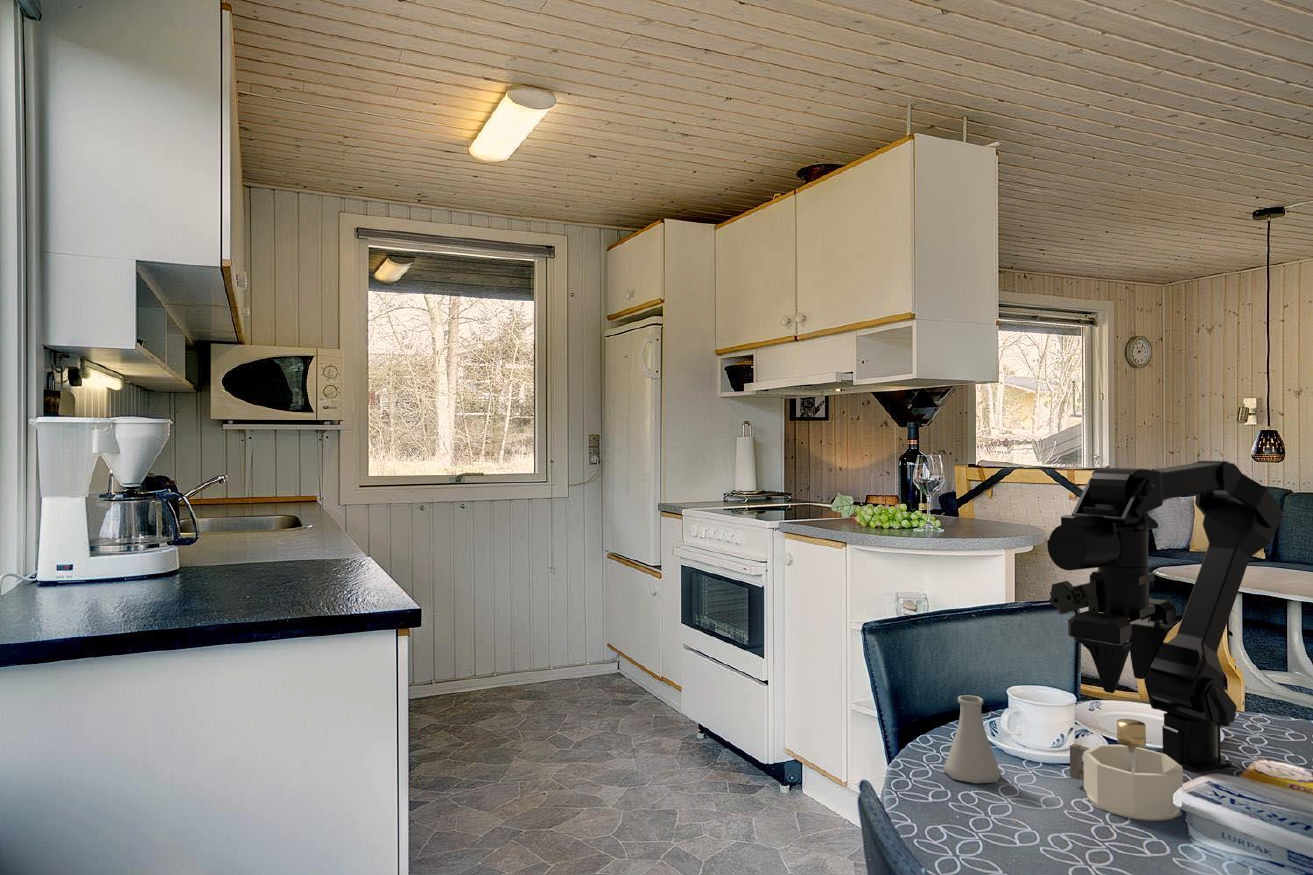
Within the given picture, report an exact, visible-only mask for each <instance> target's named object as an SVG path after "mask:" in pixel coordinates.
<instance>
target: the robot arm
mask: <svg viewBox="0 0 1313 875" xmlns="http://www.w3.org/2000/svg"><path fill="white" fill-rule="evenodd" d="M1091 475H1092V476H1091V477H1090V478H1089V479H1088V480H1087V483H1086V485H1085V487H1084V489H1083V490H1082V493H1081V495H1080V496H1079V499H1078V501H1077V503H1076V505H1075V507H1074V509H1073V511H1072V513H1071V515H1070V514H1066V515H1061V516H1060V525H1058V526H1057V527H1055V528H1054V529H1053V530H1052V532H1051V533H1050V535H1049V539H1048V540H1047V551H1048V555H1049V558H1050V559H1051V561H1052V562H1053V564H1054V565H1055V566H1057V567H1058V568H1059V569H1061V570H1065V571H1069V572H1070V571H1079V570H1086V569H1087V570H1088V569H1095V568H1097V570H1095V571H1091V573H1090V574H1089V581H1088V582H1087V583H1086V582H1085V583H1081V584H1078V585H1073V584H1072V583H1071V582H1070V581H1069V580H1065V581H1061V582H1056V583H1052V584H1051V591H1049V596H1050V597H1049V599H1048V601H1049V604H1051V605H1053V606H1054V607H1055V608H1057V611H1058V613H1059V615H1063V614H1065V615H1066V614H1068V613H1069V612H1073V611H1076V610H1081V609H1085V608H1088V610H1085V611H1082V612H1079V613H1076V614H1074V615H1072V617H1070V618H1069V619H1068V620H1067V630H1068V631H1067V635H1068V636H1069V637H1070V638H1071V637H1072V638H1073V640H1074V641H1075V642H1076V643H1079V644H1081V645H1082V646H1083V647H1085V648H1086V649H1087V650H1088V652H1089V653H1090V655H1091V657H1092V660H1093V663H1094V666H1095V668H1096V671H1097V675H1098V677H1099V681H1100V683H1101V686H1102V689H1103V691H1104V692H1105V693H1108V694H1115V692H1116V690H1117V688H1118V685H1119V681H1120V679H1121V676H1122V673H1123V670H1124V668H1125V665H1126V662H1127V658H1128V656H1129V655H1130V660H1131V661H1130V662H1131V667H1132V672H1133V673H1132V674H1133V677H1134V678H1135V679H1137V680H1143V682H1144V685H1145V686H1144V687H1145V689H1146V692H1147V697H1148V699H1149V700H1148V701H1149V704H1150V706H1151V707H1150V708H1151V709H1153V710H1159V711H1161V712H1164V713H1163V725H1162V731H1161V732H1162V749H1155V750H1154V751H1155V752H1159V753H1163V754H1166V755H1167V756H1169V757H1170V758H1171V759H1173V760H1174V761H1175V762H1177V763H1178V764H1179V765H1181V766H1182V768H1183V767H1184V768H1186V769H1188V770H1190V771H1194V772H1198V771H1199V772H1200V771H1205V770H1212V769H1213V770H1214V769H1219V768H1220V769H1222V768H1226V767H1232V761H1230V760H1228V759H1225V758H1223V757H1222V750H1221V749H1222V747H1221V746H1222V745H1221V744H1222V742H1221V738H1222V737H1221V733H1222V732H1221V727H1230V726H1231V723H1234V722H1235V719H1236V713H1237V710H1238V709H1237V708H1238V706H1237V704H1236V703H1235V702H1234V701H1233V699H1232V698H1231V696H1230V695H1229V694H1228V692H1226V690H1225V689H1224V688H1223V682H1224V678H1225V673H1224V671H1223V667H1222V665H1221V662H1220V658H1219V655H1218V650H1219V648H1220V644H1221V642H1222V640H1223V639H1222V638H1223V636H1224V633H1225V631H1226V627H1227V624H1228V622H1229V618H1230V616H1231V613H1232V610H1233V606H1234V603H1235V601H1236V599H1237V596H1238V593H1239V590H1240V587H1241V584H1242V582H1243V580H1244V579H1243V578H1244V576H1245V573H1246V569H1247V567H1248V564H1249V562H1250V559H1251V558H1252V557H1253V556H1254V555H1256V554H1257V553H1259V552H1260V551H1261V550H1263V549H1264V548H1265V547H1267V546H1269V544H1270V543H1271V541H1272V539H1273V538H1274V536H1275V534H1276V532H1277V530H1278V527H1279V526H1280V524H1281V522H1282V519H1283V511H1282V510H1283V509H1282V508H1281V505H1280V504H1279V503H1278V501H1277V500H1276V498H1274V496H1273V495H1272V493H1271V492H1270V491H1269V489H1268V488H1266V487H1265V486H1264V485H1262V484H1261V483H1258V482H1257V481H1255V480H1254V479H1252V478H1250V477H1248V476H1247V475H1245V474H1243V472H1242V471H1241V470H1240V469H1239V468H1238V466H1237V465H1236V464H1235V463H1232V462H1230V461H1227V460H1197V461H1195V462H1192V463H1189V464H1188V463H1187V464H1180V465H1173V466H1167V467H1161V468H1155V469H1151V468H1150V469H1149V468H1148V469H1147V468H1129V467H1127V468H1126V467H1099V468H1096V469H1095V470H1093V471H1092V473H1091ZM1215 491H1219V492H1217V493H1216V492H1215ZM1225 491H1226V492H1225ZM1190 495H1191V496H1192V495H1195V501H1194V505H1195V506H1196V508H1198V510H1199V511H1200V512H1201V513H1202V515H1203V516H1204V517H1203V520H1202V528H1203V530H1204V533H1205V536H1206V538H1207V541H1208V547H1207V550H1206V552H1205V555H1204V557H1203V560H1202V563H1201V565H1200V569H1199V570H1198V574H1197V577H1196V580H1195V582H1194V584H1193V587H1192V590H1191V594H1190V596H1189V599H1188V601H1187V604H1186V606H1185V610H1184V613H1183V615H1182V618H1181V621H1180V624H1179V626H1178V629H1177V632H1176V635H1175V636H1174V637H1172V639H1170V640H1169V641H1167V642H1165V640H1166V638H1167V636H1168V634H1169V632H1170V631H1171V630H1172V628H1173V626H1171V625H1173V624H1176V623H1177V608H1176V607H1175V606H1174V605H1173V604H1172V603H1171V601H1170V600H1165V599H1156V598H1150V594H1149V592H1150V590H1149V587H1150V586H1149V584H1150V583H1151V582H1155V572H1149V530H1153V529H1158V528H1159V522H1157V521H1156V520H1155V519H1154V518H1152V517H1151V516H1150V515H1149V514H1148V513H1150V512H1151V511H1153V510H1156V509H1158V508H1161V507H1162V506H1163V504H1164V502H1165V501H1167V500H1169V499H1175V498H1180V497H1185V496H1190ZM1161 621H1162V623H1163V624H1161Z"/></svg>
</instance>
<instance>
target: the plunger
mask: <svg viewBox="0 0 1313 875" xmlns="http://www.w3.org/2000/svg"><path fill="white" fill-rule="evenodd" d="M1146 727H1147V726H1146V723H1145V722H1143V721H1140V720H1136V719H1132V718H1131V719H1130V718H1121V719H1117V720H1116V736H1117V738H1116V741H1117V743H1118V744H1119V745H1125V746H1128V772H1132V773H1136V760H1135V747H1140V748H1144V747H1146V746H1147V743H1146V741H1147V740H1146V738H1147V734H1146Z"/></svg>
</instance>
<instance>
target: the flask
mask: <svg viewBox="0 0 1313 875" xmlns="http://www.w3.org/2000/svg"><path fill="white" fill-rule="evenodd" d="M957 703H959V705H960V707H959V709H960V710H959V711H960V712H959V719H958V726H957V729H956V732H955V736H954V738H953V741H952V744H951V747H950V751H949V752H948V755H947V759H945V760H946V761H945V764H944V766H943V769H942V771H943V772H944V773H945V774H947V775H948V776H949V777H950V779H953V780H955V781H961V782H967V783H971V784H972V783H973V784H988V783H989V784H990V783H998V782H999V780H1000V777H1001V775H1002V774H1001V770H1000V768H999V765H998V762H997V760H996V758H995V755H994V752H993V749H992V747H991V744H990V741H989V738H988V735H987V733H986V729H985V727H984V726H985V725H984V721H983V716H982V715H983V714H982V706H983V704H984V698H982V697H980V696H978V695H977V696H976V695H970V694H965V695H959V696H958V697H957Z"/></svg>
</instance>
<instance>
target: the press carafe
mask: <svg viewBox="0 0 1313 875" xmlns="http://www.w3.org/2000/svg"><path fill="white" fill-rule="evenodd" d="M1135 760H1136V773H1132V772H1128V746H1125V745H1122V744H1100V743H1099V744H1096V745H1094V746H1092V747H1087V746H1084V745H1081V744H1077V743H1072V744H1070V745H1069V776H1070V778H1071V779H1074V780H1078V781H1079V780H1080V781H1083V790H1084V791H1085V792H1086V797H1087V799H1088V801H1089V802H1090V803H1091V804H1092V805H1094V806H1096V807H1097V808H1099V809H1100V810H1103V811H1105V812H1108V813H1110V814H1112V815H1116V816H1121V817H1124V818H1127V819H1134V820H1138V821H1139V820H1140V821H1147V822H1148V821H1149V822H1161V821H1168V820H1173V819H1176V818H1178V817H1179V815H1180V814H1181V808H1178V807H1176V806H1175V805H1174V804H1173V794H1174V793H1175V792H1176V791H1177V790H1178V789H1179V788H1181V787H1183V788H1184V785H1183V784H1184V782H1183V780H1184V778H1183V776H1184V775H1183V771H1184V770H1183V766H1181V765H1179V764H1178V763H1177V762H1175V761H1174V760H1173V759H1171V758H1170V757H1169V756H1167V755H1166V754H1163V753H1159V752H1155V750H1152V749H1146V748H1144V747H1135Z"/></svg>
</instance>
